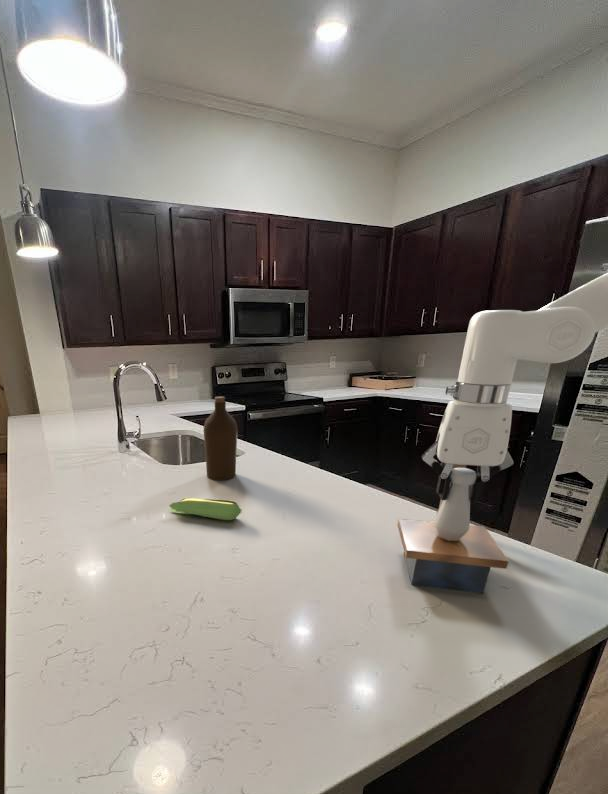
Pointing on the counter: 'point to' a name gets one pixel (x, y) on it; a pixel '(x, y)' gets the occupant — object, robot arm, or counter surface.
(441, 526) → the salt shaker
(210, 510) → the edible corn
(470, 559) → the stand
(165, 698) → the counter surface
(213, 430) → the olive oil
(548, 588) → the counter surface
